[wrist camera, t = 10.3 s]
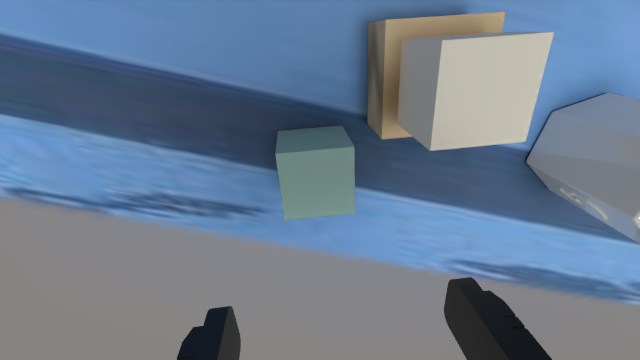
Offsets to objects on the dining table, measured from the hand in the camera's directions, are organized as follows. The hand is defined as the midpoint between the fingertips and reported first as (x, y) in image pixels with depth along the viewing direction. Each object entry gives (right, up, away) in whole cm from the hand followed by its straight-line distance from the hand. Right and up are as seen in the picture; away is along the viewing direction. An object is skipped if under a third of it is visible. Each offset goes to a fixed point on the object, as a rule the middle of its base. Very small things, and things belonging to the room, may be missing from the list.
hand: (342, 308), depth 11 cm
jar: (+21, +8, +15) cm, 27 cm away
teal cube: (-1, +7, +13) cm, 15 cm away
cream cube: (+6, +11, +7) cm, 15 cm away
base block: (+6, +13, +11) cm, 18 cm away
